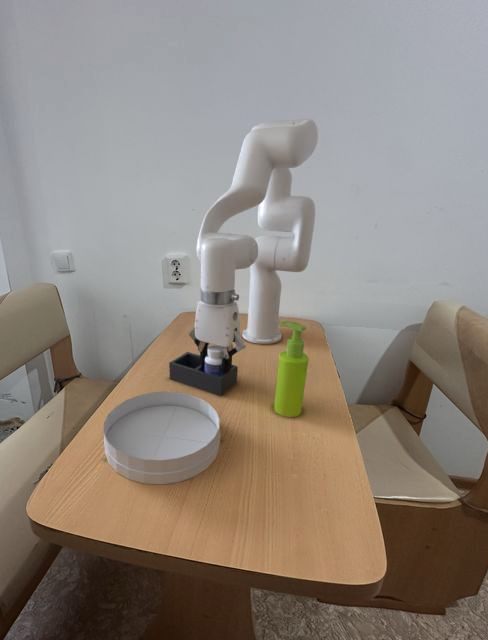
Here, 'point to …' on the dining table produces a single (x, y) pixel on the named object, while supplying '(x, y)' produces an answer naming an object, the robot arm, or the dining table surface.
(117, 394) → the dining table surface
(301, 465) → the dining table surface
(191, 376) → the holder
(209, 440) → the dish
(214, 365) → the pill bottle
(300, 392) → the soap dispenser
